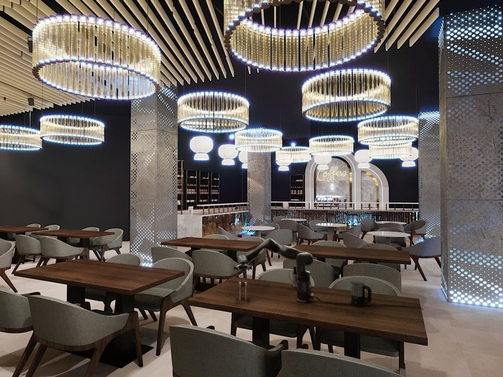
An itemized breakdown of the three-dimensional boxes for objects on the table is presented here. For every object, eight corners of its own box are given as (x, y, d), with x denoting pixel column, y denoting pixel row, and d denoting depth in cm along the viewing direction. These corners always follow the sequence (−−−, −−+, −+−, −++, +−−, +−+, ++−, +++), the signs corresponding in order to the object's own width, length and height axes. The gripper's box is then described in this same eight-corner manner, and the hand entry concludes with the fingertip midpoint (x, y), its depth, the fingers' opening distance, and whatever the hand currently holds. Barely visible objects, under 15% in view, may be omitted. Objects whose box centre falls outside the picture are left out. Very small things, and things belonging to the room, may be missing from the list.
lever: (239, 286, 241) (239, 283, 241) (246, 286, 241) (246, 283, 241) (239, 286, 229) (239, 283, 230) (246, 286, 229) (246, 283, 230)
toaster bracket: (237, 298, 235) (237, 280, 236) (248, 298, 236) (248, 280, 236) (236, 303, 225) (237, 284, 226) (248, 303, 226) (248, 284, 226)
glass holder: (305, 286, 269) (305, 267, 270) (292, 288, 261) (292, 269, 262) (298, 283, 277) (298, 265, 277) (285, 286, 269) (285, 267, 269)
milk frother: (350, 305, 223) (350, 283, 224) (351, 298, 238) (351, 277, 238) (372, 307, 218) (372, 285, 219) (372, 300, 233) (372, 279, 234)
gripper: (234, 260, 267) (233, 264, 251) (251, 260, 268) (252, 264, 251) (234, 269, 267) (233, 274, 251) (251, 269, 267) (252, 274, 251)
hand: (243, 269), depth 251 cm, fingers open, 8 cm apart
